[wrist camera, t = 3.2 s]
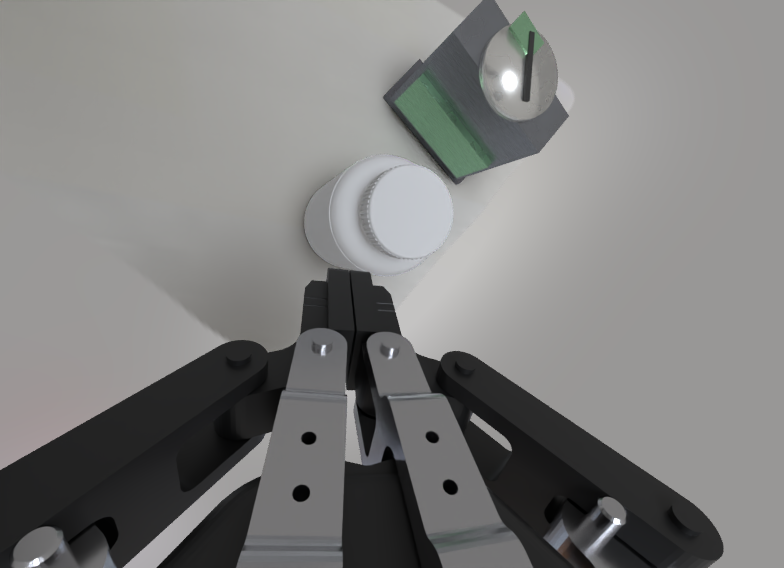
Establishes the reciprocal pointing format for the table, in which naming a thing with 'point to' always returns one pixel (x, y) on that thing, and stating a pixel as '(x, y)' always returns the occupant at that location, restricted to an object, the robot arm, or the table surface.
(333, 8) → the table surface
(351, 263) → the pill bottle
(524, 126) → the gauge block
